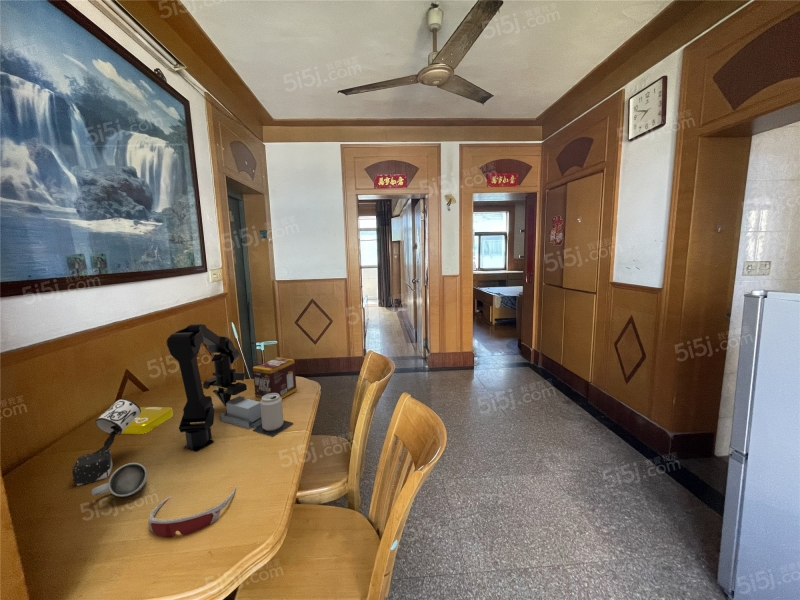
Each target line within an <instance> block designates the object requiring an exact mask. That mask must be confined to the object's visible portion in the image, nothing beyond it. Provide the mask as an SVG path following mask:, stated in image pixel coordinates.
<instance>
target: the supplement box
mask: <svg viewBox="0 0 800 600" xmlns="http://www.w3.org/2000/svg"><path fill="white" fill-rule="evenodd" d="M295 363H296V362H295V359H292V358H286V357H279V356H278V357H277V356H276V357H275V358H273V359H269V360H268V361H267V360H266V361H265V362H262V363H260V364H258V365H255V366H253V367H252V374H253V381H254V382H253V383H254V384H253V385H254V395H255V401H258V402H260V401H261V400H262V397H263V396H264V395H266V394H270V393H277V394H279V395H280V397H281V398H282V400H283V399H285V398H286V397H288V396H290V395H291V394H293V393H296V391H297V379H296V378H297V377H296V367H295V366H296V364H295Z"/></svg>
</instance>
